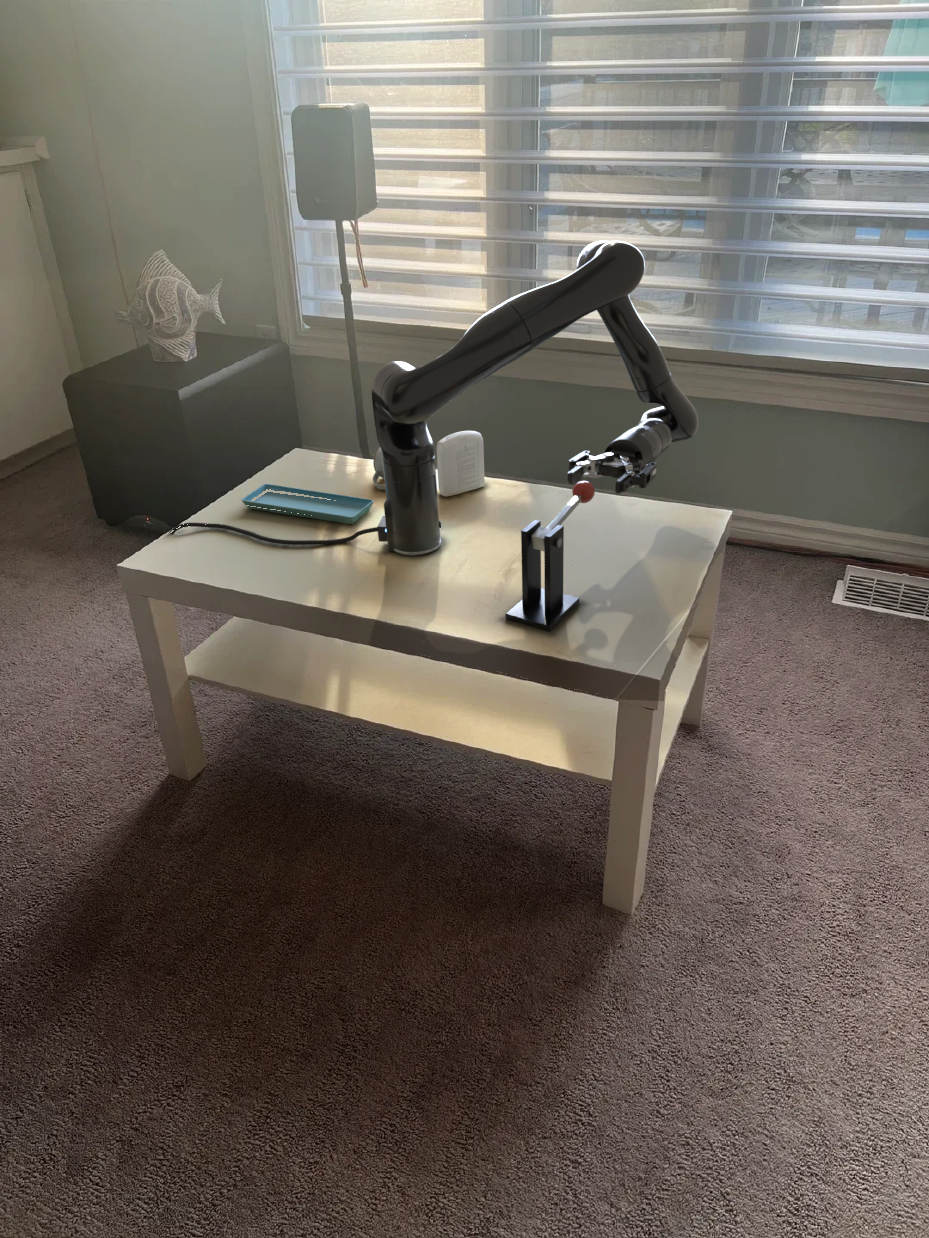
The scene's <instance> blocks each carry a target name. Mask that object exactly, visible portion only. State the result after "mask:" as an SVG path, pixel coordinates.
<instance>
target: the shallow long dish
mask: <svg viewBox="0 0 929 1238" xmlns="http://www.w3.org/2000/svg"><path fill="white" fill-rule="evenodd" d="M266 489H268V490H269V489H271V490H274V491H285V492H291V493H298V494H304V495H309V496H314V497H322V498H327V499H331V500H327V499H319V498H311V497H304V496H296V495H288V494H280V493H273V492H267V493H265V494H264V495H262V496H261V497H259V498H258V499H256V500H255V501H251V500H252V499H253V498H254V497H257V496H258V495H259V494H261V493H262V492H263V491H265V490H266ZM334 500H336V501H334ZM240 501H241V502H242V503H243V504H244V505H245V506H246V505H249V506H246V507H247V508H248V509H251V510H252V509H253V510H256V511H257V510H258V511H264V512H270V513H276V514H282V515H287V516H293V517H294V516H295V517H302V518H307V519H308V518H309V519H313V520H314V519H315V520H319V521H320V520H321V521H327V522H335V523H339V524H346V525H353V524H354V523H356V522H357V521H358V520H359V519H361V518H362V517H363V516H364V515H365V514H367V513H368V512H369V511H370V510H371V508H372V506H373V504H374V502H375V499H371V498H364V497H358V496H353V495H352V496H351V495H346V494H345V495H344V494H337V493H332V492H331V493H330V492H324V491H317V490H310V489H304V488H297V487H293V486H292V487H291V486H285V485H280V484H271V483H263V484H262V485H260V486H259V487H257V488H256V489H255V490H253V491H252V492H250V493H249V494H247V495H246V496H244V497H242V498H241V500H240ZM250 506H256V507H250ZM257 507H261V508H257ZM263 508H267V509H263ZM270 509H276V510H270ZM277 510H281V511H277ZM284 511H286V512H284ZM291 512H292V513H291ZM297 513H299V514H297ZM304 514H305V515H304ZM311 515H312V516H311Z"/></svg>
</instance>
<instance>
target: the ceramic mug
mask: <svg viewBox="0 0 929 1238" xmlns="http://www.w3.org/2000/svg"><path fill="white" fill-rule="evenodd" d="M372 461H373V462H372V463H373V470H374V474H373V476H372V482H373V484H374V487H375V488H376V489H378V490H381V491H386V490H385V483H382V484H380V483H378V480H379V478H382V479H384V470H383V460H382V452H381V448H380V446H379V447H378V448H377V449H376V451H375V453H374V455H373V460H372Z"/></svg>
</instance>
